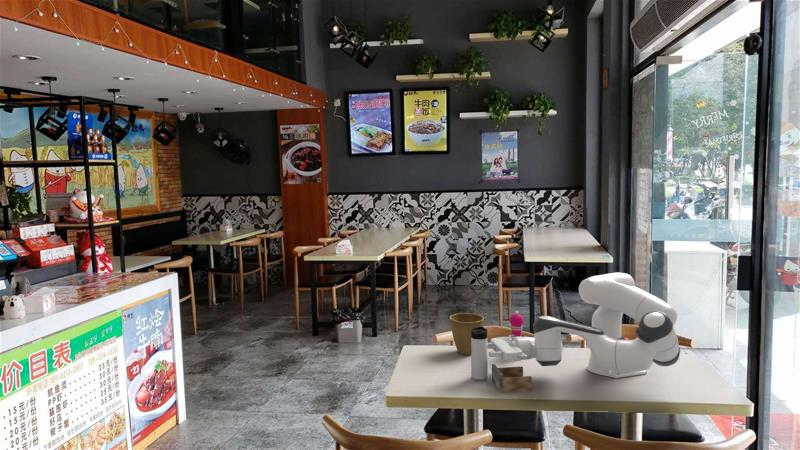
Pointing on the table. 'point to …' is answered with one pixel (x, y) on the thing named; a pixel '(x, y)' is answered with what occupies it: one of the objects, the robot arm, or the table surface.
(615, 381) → the table surface
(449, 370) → the table surface
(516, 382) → the cradle
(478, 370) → the travel mug
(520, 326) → the pepper mill
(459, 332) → the plant pot
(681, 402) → the table surface
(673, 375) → the table surface
